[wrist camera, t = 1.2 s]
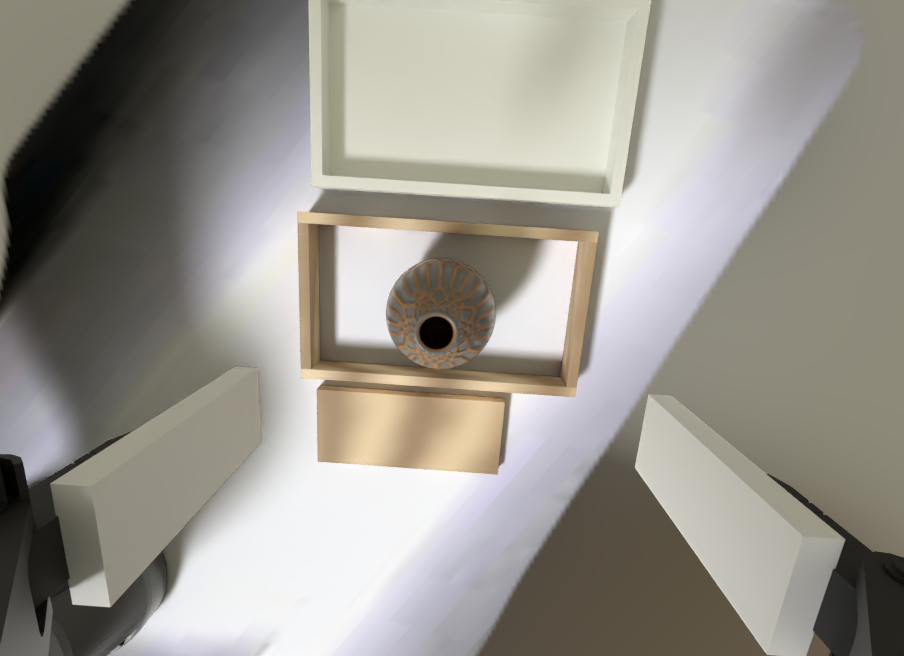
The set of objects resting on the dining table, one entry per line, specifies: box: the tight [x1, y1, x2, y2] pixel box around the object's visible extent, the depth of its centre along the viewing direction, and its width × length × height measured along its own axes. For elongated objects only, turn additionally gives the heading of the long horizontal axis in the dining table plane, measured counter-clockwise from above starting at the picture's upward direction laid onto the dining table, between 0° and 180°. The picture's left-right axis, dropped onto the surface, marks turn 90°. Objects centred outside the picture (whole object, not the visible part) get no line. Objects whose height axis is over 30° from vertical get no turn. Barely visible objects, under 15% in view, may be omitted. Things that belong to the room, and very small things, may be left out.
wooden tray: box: [297, 211, 599, 397], centre depth 30 cm, size 19×11×2 cm, turn 86°
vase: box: [386, 258, 496, 369], centre depth 26 cm, size 7×7×9 cm
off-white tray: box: [309, 0, 651, 208], centre depth 26 cm, size 19×11×2 cm, turn 86°
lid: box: [317, 385, 505, 474], centre depth 33 cm, size 14×6×1 cm, turn 86°
